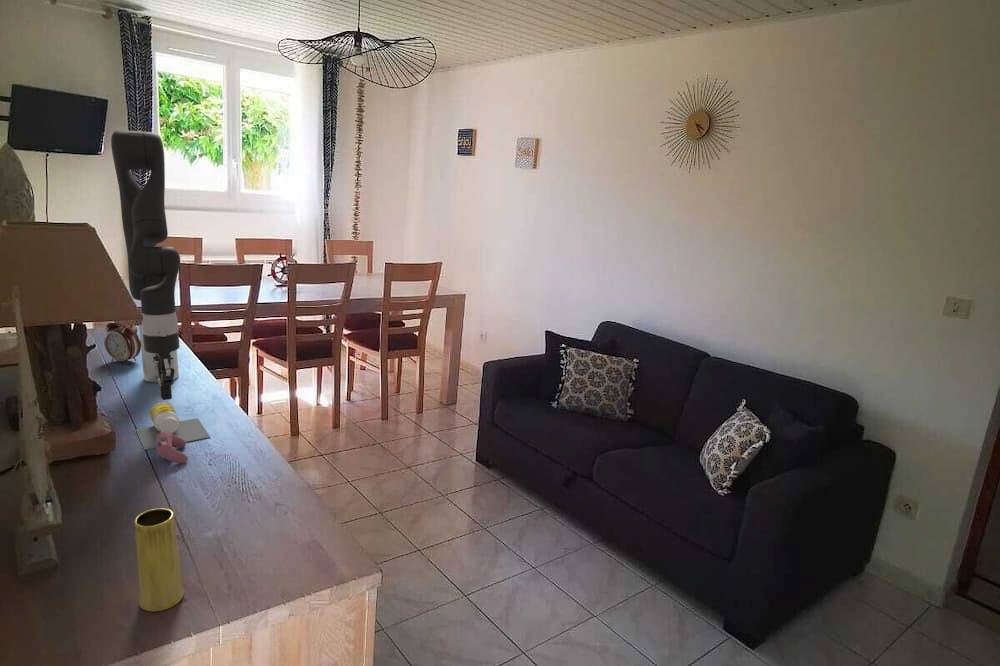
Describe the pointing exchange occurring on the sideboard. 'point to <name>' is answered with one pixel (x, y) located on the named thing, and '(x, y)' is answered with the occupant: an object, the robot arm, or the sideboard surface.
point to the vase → (158, 560)
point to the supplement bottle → (164, 417)
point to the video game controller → (171, 447)
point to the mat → (185, 430)
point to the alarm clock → (122, 341)
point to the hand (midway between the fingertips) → (166, 398)
